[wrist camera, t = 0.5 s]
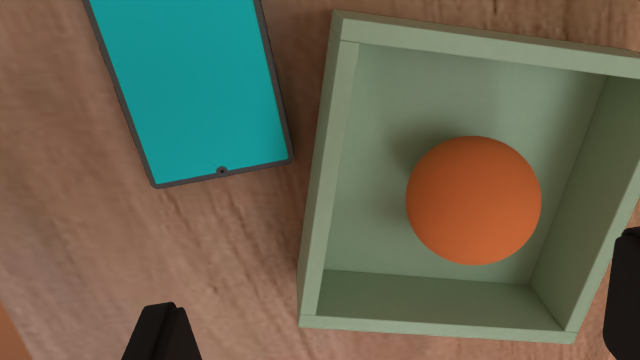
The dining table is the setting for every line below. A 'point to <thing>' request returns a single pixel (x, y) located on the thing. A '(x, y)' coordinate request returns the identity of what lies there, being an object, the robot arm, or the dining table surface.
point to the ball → (473, 200)
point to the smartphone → (194, 86)
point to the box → (451, 122)
